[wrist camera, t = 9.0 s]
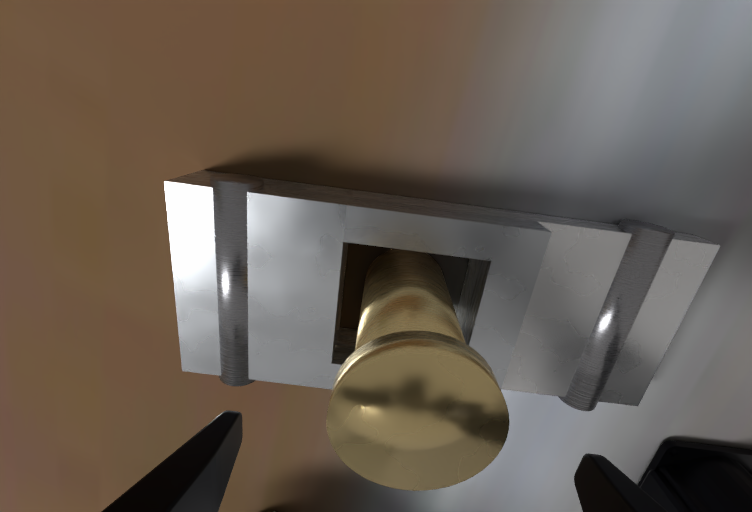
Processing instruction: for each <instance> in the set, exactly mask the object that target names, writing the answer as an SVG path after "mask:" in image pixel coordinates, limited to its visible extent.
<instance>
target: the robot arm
mask: <svg viewBox="0 0 752 512" xmlns="http://www.w3.org/2000/svg"><path fill="white" fill-rule="evenodd" d="M241 442H242V414H241V413H240V412H236V411H224V412H223V413H221V414H220V415H219V416H218V417H216V418H215V419H214V420H213V421H212V422H210V423H209V424H208V425H207V426H205V427H204V428H203V429H202V430H201V431H199V432H198V433H197V434H196V435H195V436H193V437H192V438H191V439H190V440H188V441H187V442H186V443H185V444H184V445H182V446H181V447H180V448H179V449H177V450H176V451H175V452H174V453H173V454H171V455H170V456H169V457H168V458H166V459H165V460H164V461H163V462H162V463H160V464H159V465H158V466H157V467H155V468H154V469H153V470H152V471H151V472H149V473H148V474H147V475H146V476H144V477H143V478H142V479H141V480H140V481H138V482H137V483H136V484H135V485H133V486H132V487H131V488H130V489H129V490H127V491H126V492H125V493H124V494H122V495H121V496H120V497H119V498H118V499H116V500H115V501H114V502H113V503H112V504H110V505H109V506H108V507H107V508H105V509H104V510H103V511H102V512H218V510H219V507H220V504H221V501H222V499H223V496H224V493H225V490H226V487H227V484H228V481H229V478H230V475H231V472H232V469H233V466H234V463H235V460H236V457H237V454H238V451H239V448H240V445H241ZM574 482H575V487H576V490H577V493H578V497H579V500H580V503H581V507H582V510H583V512H752V450H746V449H738V448H730V447H722V446H714V445H706V444H698V443H689V442H681V441H673V440H669V441H666V442H664V443H663V444H662V445H661V446H660V448H659V449H658V451H657V453H656V455H655V456H654V458H653V460H652V462H651V463H650V465H649V467H648V469H647V470H646V472H645V474H644V475H643V477H642V479H641V481H640V482H639V484H638V485H636V484H635V483H634V482H633V481H632V480H631V479H629V478H628V477H627V476H626V475H625V474H624V473H622V472H621V471H620V470H619V469H618V468H617V467H616V466H614V465H613V464H612V463H611V462H610V461H609V460H607V459H606V458H605V457H603V456H601V455H596V454H585V455H584V456H583V458H582V460H581V462H580V464H579V466H578V468H577V470H576V473H575V476H574Z"/></svg>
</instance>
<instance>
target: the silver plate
mask: <svg viewBox="0 0 752 512" xmlns="http://www.w3.org/2000/svg"><path fill="white" fill-rule="evenodd" d="M164 183H165V194H166V204H167V215H168V225H169V236H170V247H171V257H172V268H173V278H174V289H175V300H176V310H177V321H178V331H179V342H180V353H181V363H182V371H188V372H196V373H204V374H212V375H219V378H220V380H221V381H222V382H223V383H225V384H227V385H230V386H244V385H247V384H250V383H252V382H254V381H255V380H260V381H268V382H276V383H285V384H293V385H301V386H309V387H317V388H325V389H332V388H333V383H334V380H335V377H336V375H337V373H338V371H339V369H340V367H341V366H342V364H343V363H344V362H345V360H346V359H347V358H348V357H349V356H350V355H351V354H352V353H353V352H354V351H355V346H356V339H357V332H358V330H356V329H348V328H340V320H341V310H342V301H343V291H344V281H345V271H346V262H347V252H348V242H349V243H356V244H364V245H372V246H379V247H387V248H395V249H403V250H410V251H418V252H426V253H433V254H441V255H449V256H457V257H464V258H470V259H469V263H468V268H467V272H466V276H465V280H464V284H463V288H462V293H461V297H460V301H459V305H458V309H457V313H456V315H457V318H458V322H459V325H460V328H461V331H462V334H463V337H464V340H465V343H466V344H467V345H469V346H470V347H472V348H473V349H474V350H476V351H477V352H478V353H479V354H480V355H481V356H482V357H483V358H484V359H485V360H486V361H487V363H488V364H489V366H490V367H491V369H492V371H493V373H494V375H495V377H496V380H497V382H498V385H499V387H500V390H501V389H504V390H512V391H520V392H528V393H536V394H544V395H552V396H558V397H559V398H560V399H561V400H562V401H563V402H565V403H566V404H567V405H569V406H571V407H573V408H575V409H578V410H582V411H591V410H593V409H595V407H596V405H597V403H598V401H600V402H608V403H616V404H625V405H633V406H638V405H639V403H640V401H641V399H642V397H643V395H644V393H645V391H646V390H647V388H648V386H649V384H650V382H651V380H652V378H653V376H654V374H655V372H656V370H657V368H658V366H659V364H660V362H661V360H662V358H663V357H664V355H665V353H666V351H667V349H668V347H669V345H670V343H671V341H672V339H673V337H674V335H675V333H676V331H677V329H678V327H679V325H680V324H681V322H682V320H683V318H684V316H685V314H686V312H687V310H688V308H689V306H690V304H691V302H692V300H693V298H694V296H695V294H696V292H697V290H698V289H699V287H700V285H701V283H702V281H703V279H704V277H705V275H706V273H707V271H708V269H709V267H710V265H711V263H712V261H713V259H714V257H715V256H716V254H717V252H718V250H719V248H720V246H721V245H718V244H716V243H713V242H711V241H708V240H705V239H703V238H700V237H698V236H695V235H692V234H685V233H677V232H674V231H672V230H670V229H667V228H664V227H661V226H658V225H654V224H650V223H646V222H641V221H635V220H621V221H620V224H619V225H616V224H609V223H601V222H594V221H586V220H578V219H571V218H563V217H556V216H548V215H540V214H533V213H525V212H518V211H510V210H502V209H495V208H487V207H480V206H472V205H465V204H457V203H449V202H442V201H434V200H427V199H419V198H411V197H404V196H396V195H389V194H381V193H373V192H366V191H358V190H351V189H343V188H335V187H328V186H320V185H313V184H305V183H298V182H290V181H282V180H275V179H267V178H260V177H256V176H251V175H244V174H229V173H222V172H214V171H206V170H201V171H197V172H194V173H191V174H187V175H184V176H181V177H177V178H174V179H170V180H167V181H164Z"/></svg>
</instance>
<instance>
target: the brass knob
mask: <svg viewBox="0 0 752 512" xmlns="http://www.w3.org/2000/svg"><path fill="white" fill-rule="evenodd" d="M508 430H509V413H508V409H507V405H506V402H505V400H504V397H503V395H502V392H501V390H500V387H499V385H498V382H497V380H496V377H495V375H494V373H493V371H492V369H491V367H490V366H489V364H488V363H487V361H486V360H485V359H484V358H483V357H482V356H481V355H480V354H479V353H478V352H477V351H476V350H474V349H473V348H472V347H470V346H469V345H467V344H466V343H465V340H464V337H463V334H462V331H461V328H460V325H459V322H458V318H457V315H456V312H455V309H454V306H453V303H452V300H451V297H450V294H449V291H448V288H447V285H446V282H445V279H444V276H443V273H442V271H441V268H440V266H439V265H438V263H437V262H436V261H435V260H434V259H433V258H432V257H431V256H430V255H428V254H427V253H425V252H418V251H410V250H403V249H392V250H389V251H386V252H384V253H383V254H381V255H380V256H378V257H377V258H376V259H375V260H374V261H373V262H372V264H371V265H370V267H369V269H368V271H367V274H366V278H365V284H364V291H363V298H362V305H361V312H360V319H359V325H358V332H357V339H356V346H355V351H354V352H353V353H352V354H351V355H350V356H349V357H348V358H347V359H346V360H345V362H344V363H343V364H342V366H341V367H340V369H339V371H338V373H337V375H336V377H335V380H334V383H333V388H332V393H331V398H330V402H329V407H328V412H327V432H328V436H329V439H330V442H331V445H332V446H333V448H334V450H335V452H336V453H337V455H338V456H339V457H340V459H341V460H342V461H343V462H344V463H345V464H346V465H347V466H348V467H349V468H351V469H352V470H353V471H354V472H356V473H357V474H359V475H361V476H362V477H364V478H366V479H368V480H370V481H372V482H375V483H377V484H380V485H383V486H387V487H390V488H395V489H401V490H413V491H419V490H433V489H439V488H444V487H448V486H452V485H455V484H458V483H460V482H463V481H465V480H467V479H469V478H471V477H473V476H475V475H476V474H478V473H479V472H480V471H482V470H483V469H485V468H486V467H487V466H488V465H489V464H490V463H491V462H492V461H493V460H494V459H495V458H496V456H497V455H498V454H499V452H500V451H501V449H502V447H503V445H504V443H505V441H506V438H507V434H508Z"/></svg>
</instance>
